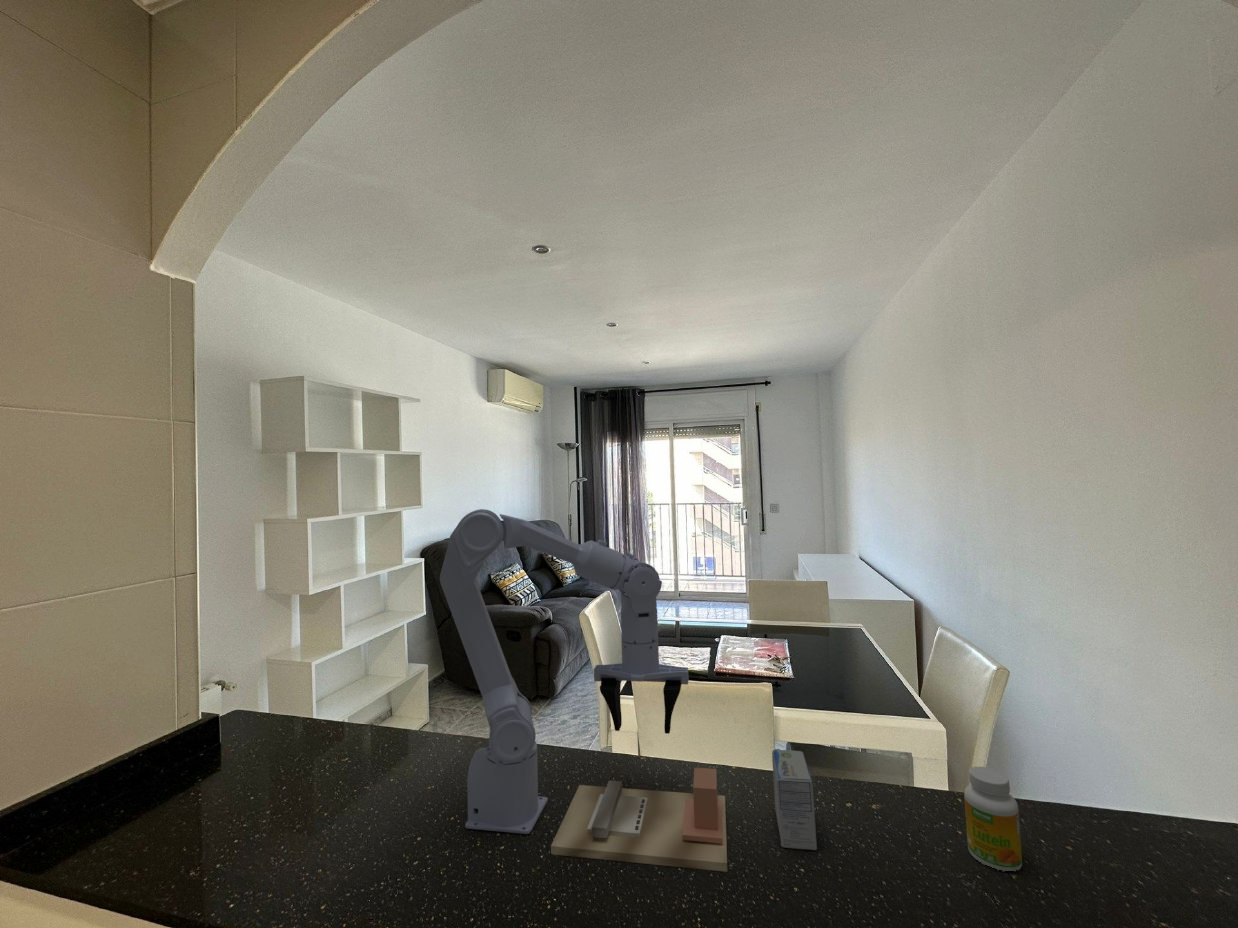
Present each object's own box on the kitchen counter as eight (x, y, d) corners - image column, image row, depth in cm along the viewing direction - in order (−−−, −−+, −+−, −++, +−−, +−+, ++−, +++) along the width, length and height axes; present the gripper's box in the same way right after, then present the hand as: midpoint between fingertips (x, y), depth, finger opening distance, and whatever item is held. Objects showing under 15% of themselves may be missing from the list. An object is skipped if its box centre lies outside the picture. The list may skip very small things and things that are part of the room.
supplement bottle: (967, 862, 62) (961, 778, 62) (967, 837, 66) (962, 759, 67) (1024, 880, 59) (1018, 791, 59) (1020, 852, 63) (1014, 770, 64)
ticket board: (551, 853, 65) (550, 831, 66) (579, 791, 79) (579, 772, 79) (727, 871, 61) (726, 847, 62) (725, 802, 75) (724, 782, 75)
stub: (682, 839, 65) (680, 793, 66) (686, 802, 73) (684, 761, 74) (722, 843, 64) (720, 796, 65) (721, 805, 72) (719, 763, 73)
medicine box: (817, 852, 64) (813, 780, 65) (780, 848, 65) (776, 777, 66) (807, 814, 72) (804, 750, 73) (774, 811, 73) (771, 748, 73)
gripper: (588, 645, 77) (590, 738, 76) (685, 647, 75) (688, 744, 74) (598, 632, 84) (601, 718, 83) (687, 634, 81) (691, 722, 81)
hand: (642, 729), depth 79 cm, fingers open, 7 cm apart
